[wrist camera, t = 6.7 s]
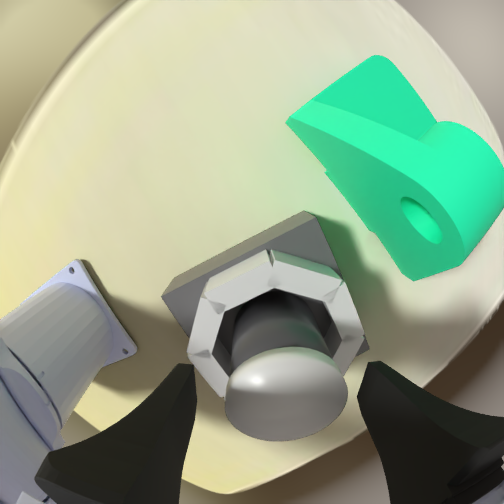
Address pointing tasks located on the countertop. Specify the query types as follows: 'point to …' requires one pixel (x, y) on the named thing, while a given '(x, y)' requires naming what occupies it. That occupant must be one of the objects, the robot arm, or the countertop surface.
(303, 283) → the square octagon-collar plate
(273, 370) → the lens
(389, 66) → the camera mount
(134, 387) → the countertop surface
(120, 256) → the countertop surface
